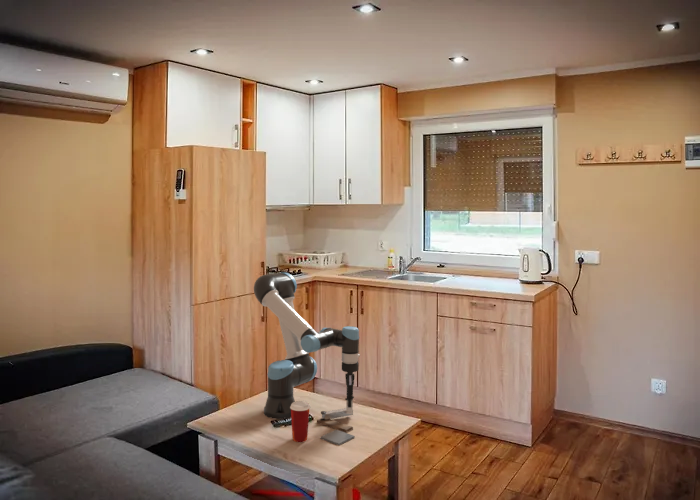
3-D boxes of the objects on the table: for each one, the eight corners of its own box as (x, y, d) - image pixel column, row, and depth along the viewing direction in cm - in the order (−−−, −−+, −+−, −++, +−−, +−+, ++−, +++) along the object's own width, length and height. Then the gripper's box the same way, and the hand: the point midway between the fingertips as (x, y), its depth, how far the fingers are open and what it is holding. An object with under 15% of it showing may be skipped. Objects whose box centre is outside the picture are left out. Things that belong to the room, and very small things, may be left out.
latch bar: (322, 420, 253) (322, 413, 253) (319, 418, 256) (319, 411, 256) (352, 414, 260) (352, 408, 260) (349, 412, 263) (349, 406, 263)
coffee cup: (314, 439, 237) (314, 403, 236) (299, 445, 231) (299, 409, 230) (300, 433, 243) (300, 398, 241) (285, 439, 237) (285, 403, 235)
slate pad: (320, 438, 238) (320, 436, 238) (336, 431, 245) (336, 429, 245) (338, 445, 231) (339, 443, 231) (354, 437, 239) (354, 435, 239)
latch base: (316, 422, 255) (316, 419, 255) (323, 419, 258) (323, 416, 258) (346, 432, 244) (346, 429, 244) (352, 429, 248) (352, 426, 248)
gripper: (359, 365, 250) (358, 418, 252) (357, 357, 263) (357, 408, 265) (342, 365, 250) (341, 418, 252) (341, 357, 263) (340, 408, 264)
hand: (349, 413), depth 258 cm, fingers closed
